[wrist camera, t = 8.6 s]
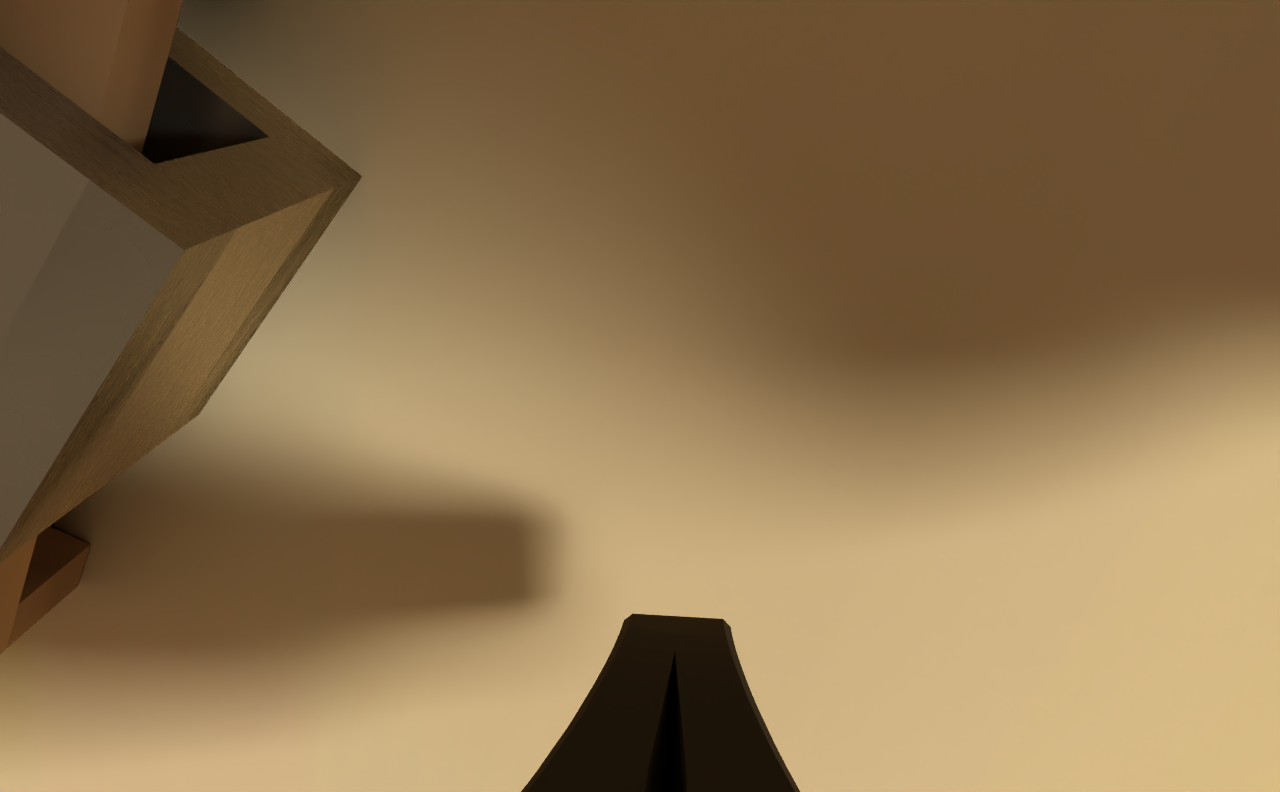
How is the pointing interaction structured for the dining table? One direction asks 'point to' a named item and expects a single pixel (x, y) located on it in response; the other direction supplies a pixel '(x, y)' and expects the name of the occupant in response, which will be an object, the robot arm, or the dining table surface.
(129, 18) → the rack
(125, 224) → the open storage bin
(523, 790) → the robot arm
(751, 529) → the dining table surface
